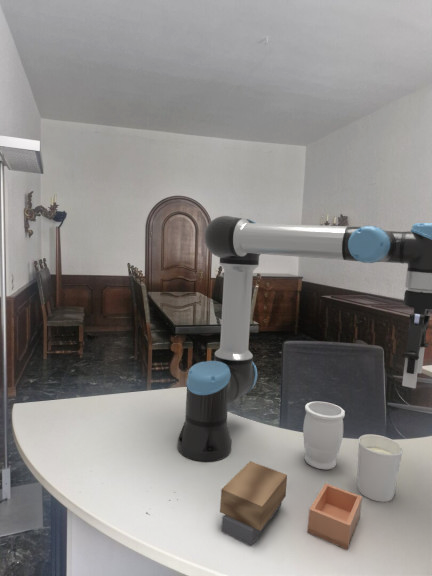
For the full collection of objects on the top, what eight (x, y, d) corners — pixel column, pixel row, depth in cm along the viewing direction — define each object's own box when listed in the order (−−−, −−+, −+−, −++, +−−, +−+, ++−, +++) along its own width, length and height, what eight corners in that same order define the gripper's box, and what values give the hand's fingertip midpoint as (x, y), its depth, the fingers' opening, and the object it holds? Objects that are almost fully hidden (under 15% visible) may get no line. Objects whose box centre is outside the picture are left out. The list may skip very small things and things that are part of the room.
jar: (341, 475, 102) (347, 419, 100) (300, 468, 104) (305, 413, 102) (337, 454, 112) (342, 403, 111) (300, 449, 114) (304, 398, 113)
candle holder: (393, 510, 89) (399, 459, 88) (349, 493, 94) (354, 445, 93) (399, 488, 98) (405, 442, 96) (358, 474, 103) (363, 430, 101)
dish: (307, 532, 81) (309, 509, 80) (323, 503, 90) (325, 483, 89) (347, 549, 77) (350, 525, 76) (359, 518, 86) (362, 496, 85)
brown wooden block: (219, 512, 81) (221, 489, 80) (248, 481, 92) (250, 461, 91) (260, 530, 76) (262, 506, 75) (285, 496, 87) (287, 474, 87)
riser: (221, 531, 79) (222, 517, 79) (254, 493, 92) (255, 481, 92) (251, 545, 76) (252, 531, 76) (281, 504, 89) (282, 492, 89)
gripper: (437, 296, 80) (425, 398, 82) (444, 289, 101) (433, 370, 103) (397, 292, 84) (386, 389, 86) (411, 285, 105) (402, 364, 107)
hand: (412, 379), depth 95 cm, fingers open, 13 cm apart
